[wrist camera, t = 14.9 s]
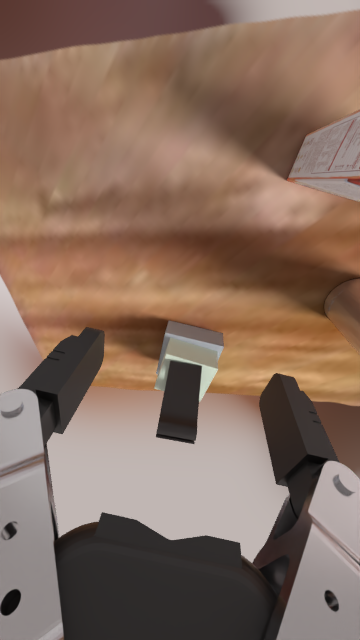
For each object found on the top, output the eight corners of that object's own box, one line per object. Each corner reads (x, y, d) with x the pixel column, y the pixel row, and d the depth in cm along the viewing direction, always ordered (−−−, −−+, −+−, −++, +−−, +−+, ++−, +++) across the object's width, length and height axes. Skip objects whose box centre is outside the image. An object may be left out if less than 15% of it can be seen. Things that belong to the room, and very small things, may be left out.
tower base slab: (222, 332, 50) (223, 346, 46) (207, 370, 56) (207, 386, 52) (169, 319, 50) (165, 332, 45) (160, 359, 56) (156, 374, 52)
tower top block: (217, 351, 46) (218, 369, 42) (201, 383, 52) (200, 401, 48) (170, 337, 46) (166, 353, 42) (158, 370, 51) (154, 388, 47)
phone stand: (170, 359, 42) (159, 417, 32) (202, 365, 42) (201, 425, 32) (164, 391, 47) (153, 450, 37) (192, 396, 47) (189, 457, 37)
